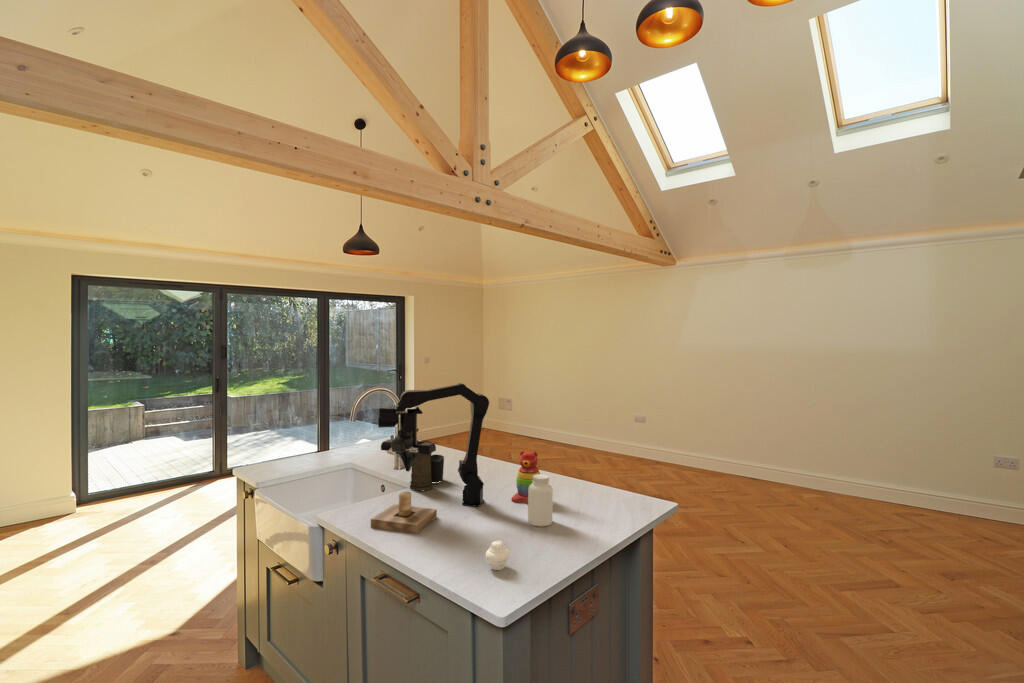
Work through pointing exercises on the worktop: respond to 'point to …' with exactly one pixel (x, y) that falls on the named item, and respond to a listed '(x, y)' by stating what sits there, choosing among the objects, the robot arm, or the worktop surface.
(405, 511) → the peg
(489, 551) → the cream rounded piece
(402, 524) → the board
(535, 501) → the pill bottle
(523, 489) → the stacking bear
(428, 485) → the container
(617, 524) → the worktop surface
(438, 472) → the pen holder
